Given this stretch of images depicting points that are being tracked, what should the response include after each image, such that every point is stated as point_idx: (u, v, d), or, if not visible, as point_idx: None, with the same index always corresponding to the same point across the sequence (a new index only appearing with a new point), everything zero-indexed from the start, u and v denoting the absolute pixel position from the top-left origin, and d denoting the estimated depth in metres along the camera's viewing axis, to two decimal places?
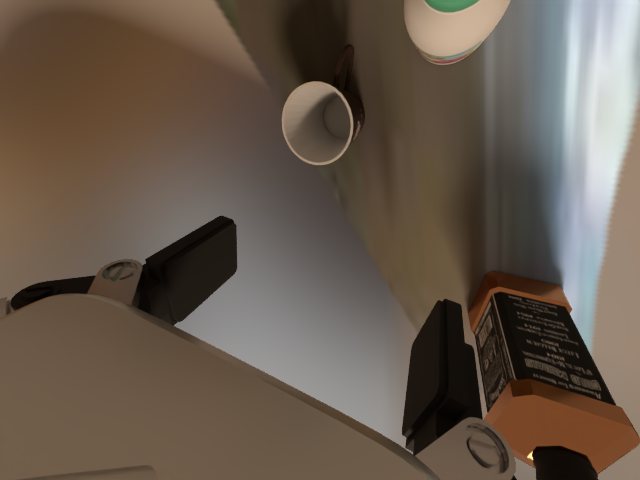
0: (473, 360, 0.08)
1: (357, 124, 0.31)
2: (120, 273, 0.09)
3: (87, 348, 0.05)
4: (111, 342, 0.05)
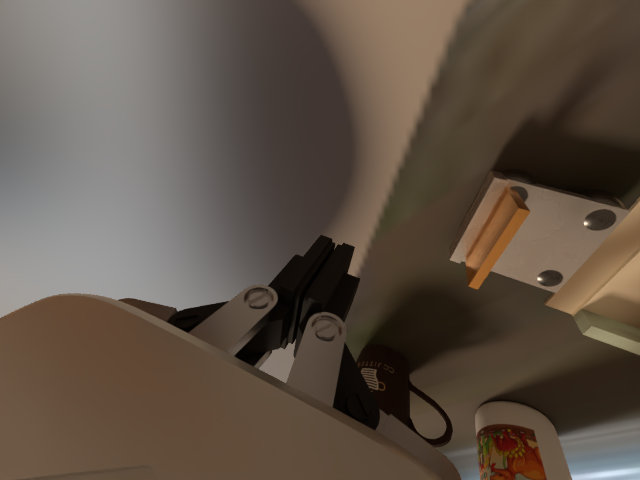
0: (354, 286, 0.10)
1: None
2: (257, 300, 0.09)
3: (87, 348, 0.05)
4: (111, 342, 0.05)
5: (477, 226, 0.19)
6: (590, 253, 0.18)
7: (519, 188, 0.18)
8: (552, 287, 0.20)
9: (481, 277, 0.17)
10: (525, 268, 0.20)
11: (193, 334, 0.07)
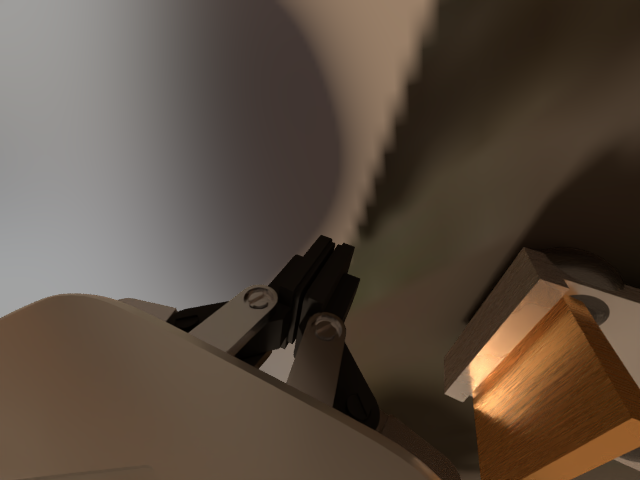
0: (354, 286, 0.10)
1: None
2: (256, 300, 0.09)
3: (87, 348, 0.05)
4: (111, 342, 0.05)
5: (497, 355, 0.10)
6: None
7: (592, 301, 0.08)
8: (639, 464, 0.10)
9: None
10: None
11: (193, 334, 0.07)
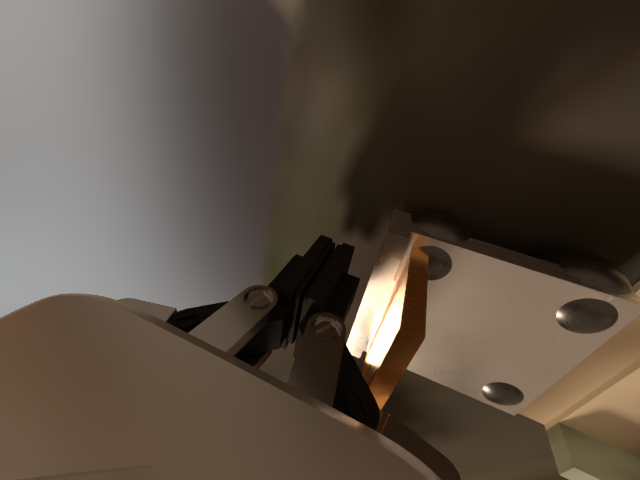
0: (354, 286, 0.10)
1: None
2: (257, 300, 0.09)
3: (87, 348, 0.05)
4: (111, 342, 0.05)
5: (374, 308, 0.11)
6: (569, 367, 0.10)
7: (435, 250, 0.09)
8: (507, 407, 0.11)
9: None
10: (462, 375, 0.12)
11: (193, 334, 0.07)
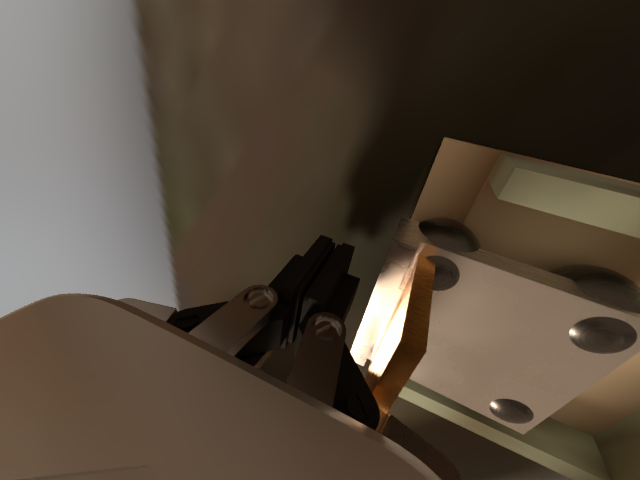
0: (354, 286, 0.10)
1: None
2: (257, 300, 0.09)
3: (87, 348, 0.05)
4: (111, 342, 0.05)
5: (379, 317, 0.11)
6: (583, 388, 0.09)
7: (443, 261, 0.09)
8: (516, 425, 0.11)
9: None
10: (468, 389, 0.11)
11: (193, 334, 0.07)
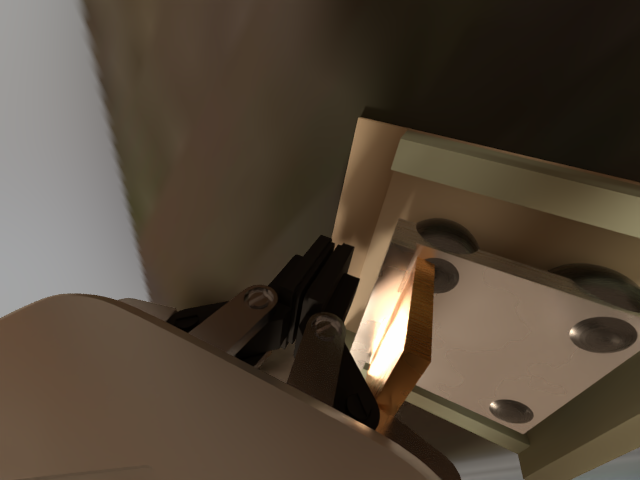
0: (354, 286, 0.10)
1: None
2: (257, 300, 0.09)
3: (87, 348, 0.05)
4: (111, 342, 0.05)
5: (377, 321, 0.10)
6: (583, 387, 0.09)
7: (442, 263, 0.09)
8: (516, 425, 0.11)
9: None
10: (468, 390, 0.11)
11: (193, 334, 0.07)
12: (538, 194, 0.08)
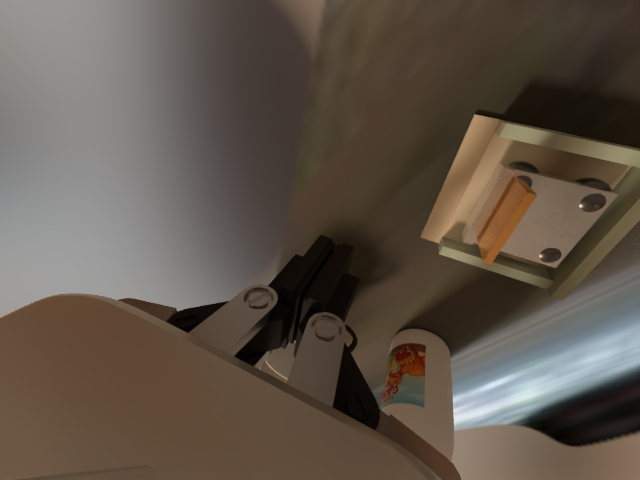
0: (354, 286, 0.10)
1: None
2: (257, 300, 0.09)
3: (87, 348, 0.05)
4: (111, 342, 0.05)
5: (488, 211, 0.22)
6: (584, 231, 0.21)
7: (525, 177, 0.21)
8: (552, 263, 0.23)
9: (494, 253, 0.20)
10: (529, 247, 0.23)
11: (193, 334, 0.07)
12: (563, 144, 0.19)
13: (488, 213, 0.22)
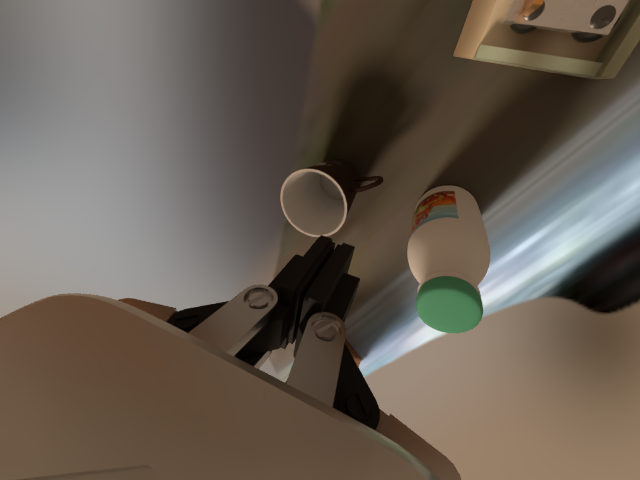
0: (355, 286, 0.10)
1: (340, 219, 0.35)
2: (256, 300, 0.09)
3: (88, 348, 0.05)
4: (111, 342, 0.05)
5: None
6: None
7: None
8: (604, 27, 0.21)
9: None
10: (579, 12, 0.21)
11: (193, 334, 0.07)
12: None
13: None
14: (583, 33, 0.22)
